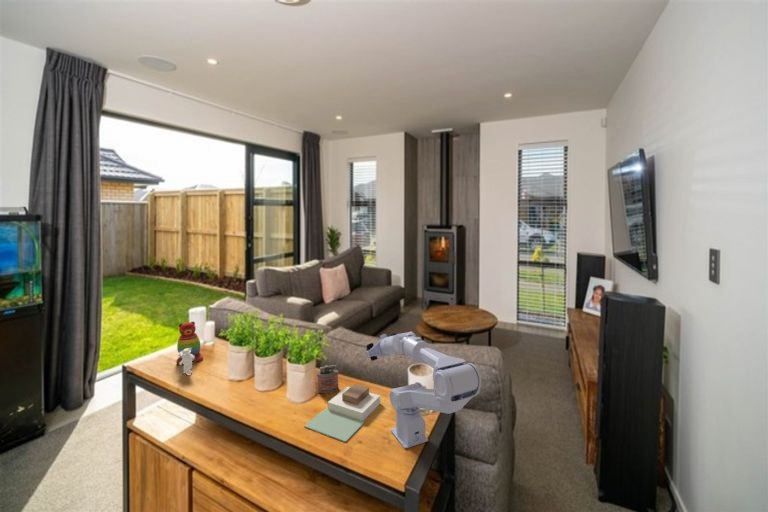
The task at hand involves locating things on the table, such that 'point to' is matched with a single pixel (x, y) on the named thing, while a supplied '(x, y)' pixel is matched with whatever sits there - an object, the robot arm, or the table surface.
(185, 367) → the flower shoulder figurine
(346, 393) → the walnut tile
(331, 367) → the lighter
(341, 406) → the white flat block
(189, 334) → the stacking bear
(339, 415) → the mat
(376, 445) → the table surface
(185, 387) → the table surface
